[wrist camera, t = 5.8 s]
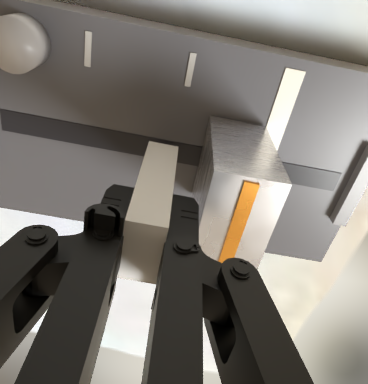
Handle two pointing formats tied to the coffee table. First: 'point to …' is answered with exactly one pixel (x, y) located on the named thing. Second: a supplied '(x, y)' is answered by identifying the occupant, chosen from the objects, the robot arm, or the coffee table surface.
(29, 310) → the robot arm
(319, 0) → the coffee table surface
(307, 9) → the coffee table surface
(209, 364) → the coffee table surface
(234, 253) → the fader
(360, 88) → the console
